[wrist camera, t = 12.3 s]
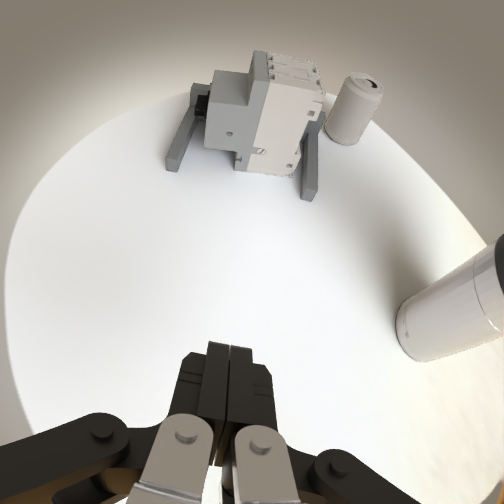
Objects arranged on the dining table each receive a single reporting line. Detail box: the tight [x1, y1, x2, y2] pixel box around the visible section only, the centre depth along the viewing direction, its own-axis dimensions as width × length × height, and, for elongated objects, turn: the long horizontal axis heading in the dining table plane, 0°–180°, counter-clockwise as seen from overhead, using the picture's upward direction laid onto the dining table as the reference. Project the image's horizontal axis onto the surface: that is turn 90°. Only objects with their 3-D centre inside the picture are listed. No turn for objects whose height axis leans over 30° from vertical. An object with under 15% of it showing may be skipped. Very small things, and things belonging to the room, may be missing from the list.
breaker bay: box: [166, 83, 325, 202], centre depth 42 cm, size 20×13×7 cm, turn 82°
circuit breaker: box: [194, 51, 326, 178], centre depth 38 cm, size 8×14×15 cm, turn 90°
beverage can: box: [325, 72, 384, 145], centre depth 46 cm, size 6×6×12 cm
